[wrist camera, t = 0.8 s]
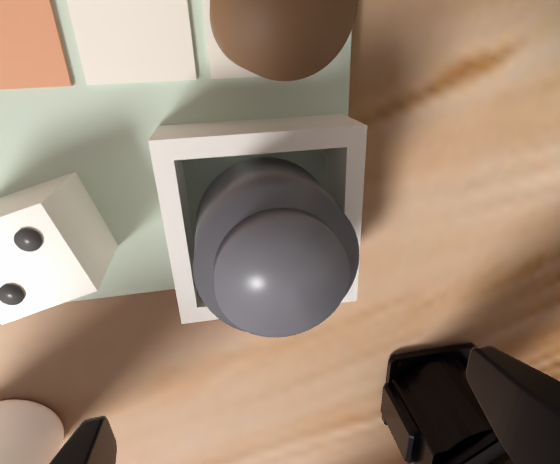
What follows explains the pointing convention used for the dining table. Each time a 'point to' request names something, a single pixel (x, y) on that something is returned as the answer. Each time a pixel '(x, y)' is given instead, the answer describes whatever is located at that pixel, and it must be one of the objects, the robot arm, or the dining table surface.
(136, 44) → the board
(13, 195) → the die
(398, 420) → the robot arm
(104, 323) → the dining table surface
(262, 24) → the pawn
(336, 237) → the popper button
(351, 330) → the dining table surface
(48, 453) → the white tapered vase
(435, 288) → the dining table surface
